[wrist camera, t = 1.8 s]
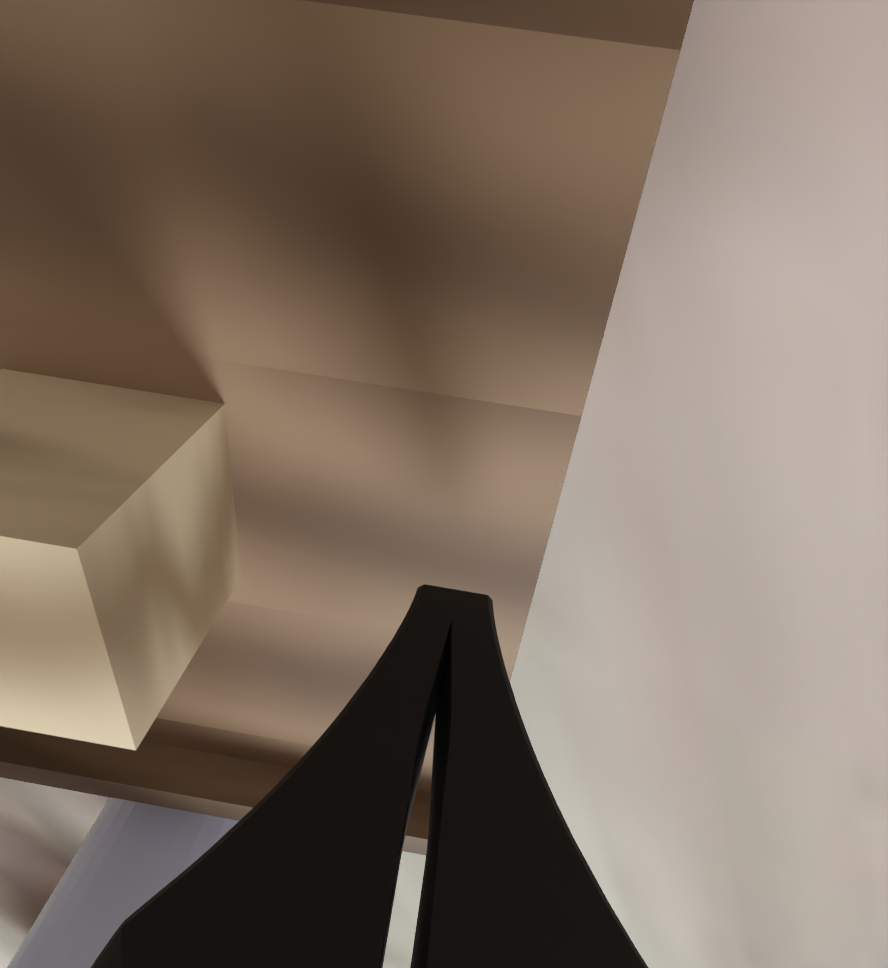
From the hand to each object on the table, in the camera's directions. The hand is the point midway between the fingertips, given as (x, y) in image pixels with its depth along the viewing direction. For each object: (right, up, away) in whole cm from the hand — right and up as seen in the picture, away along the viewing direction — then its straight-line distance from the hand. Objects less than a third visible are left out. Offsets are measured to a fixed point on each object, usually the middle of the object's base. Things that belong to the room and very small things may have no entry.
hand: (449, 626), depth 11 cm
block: (-8, +3, +3) cm, 9 cm away
